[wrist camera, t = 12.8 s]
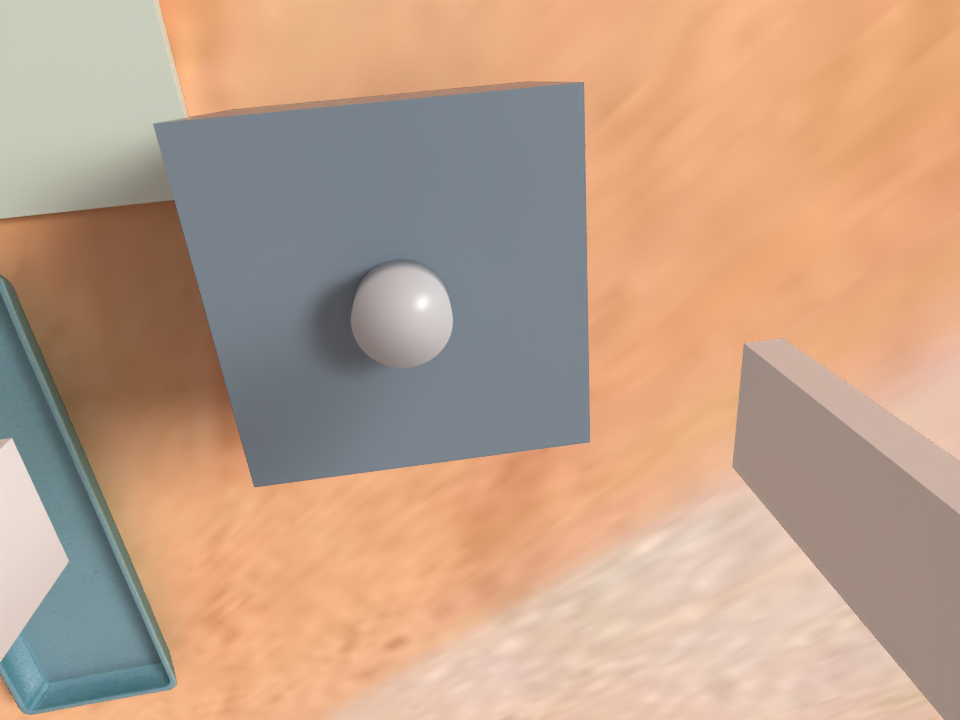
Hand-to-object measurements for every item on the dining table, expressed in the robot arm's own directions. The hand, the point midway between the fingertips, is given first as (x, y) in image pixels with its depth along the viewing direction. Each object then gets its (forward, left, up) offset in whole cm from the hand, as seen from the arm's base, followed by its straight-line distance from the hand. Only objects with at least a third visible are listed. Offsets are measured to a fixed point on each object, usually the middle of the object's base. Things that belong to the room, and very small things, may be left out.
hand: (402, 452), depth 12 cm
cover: (0, 0, -18) cm, 18 cm away
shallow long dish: (+13, -22, -21) cm, 33 cm away
